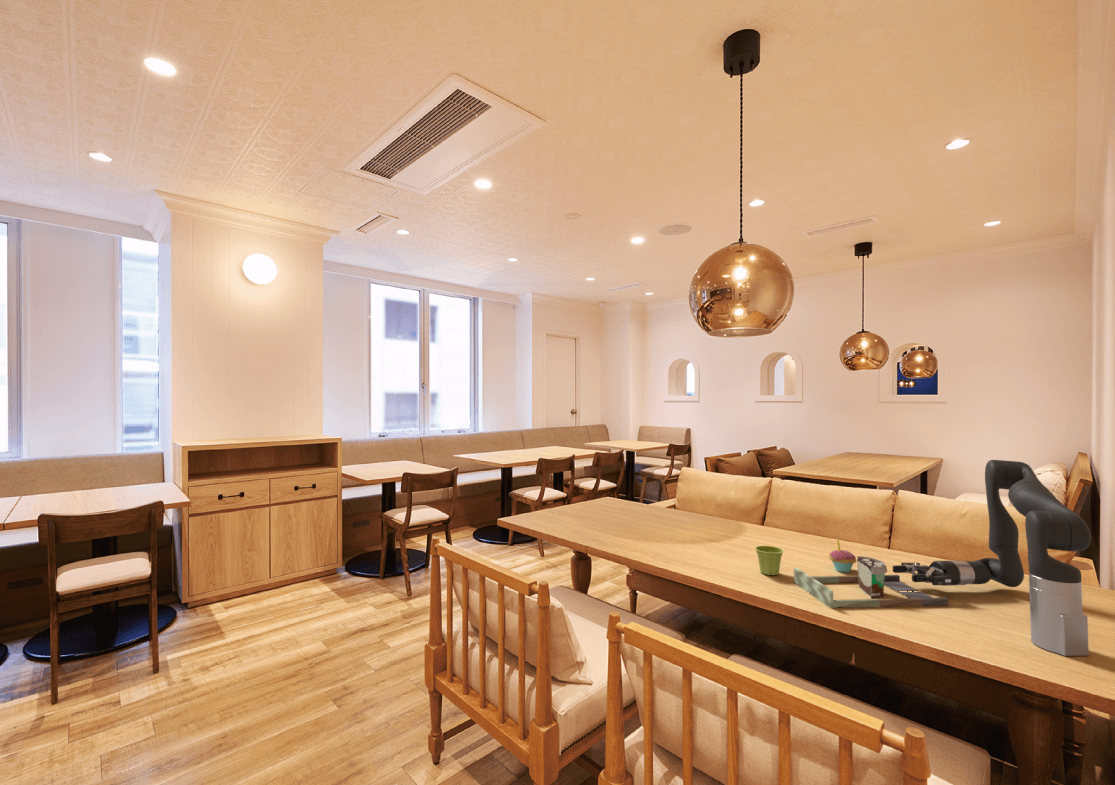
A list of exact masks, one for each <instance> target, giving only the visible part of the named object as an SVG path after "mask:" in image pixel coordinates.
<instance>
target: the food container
mask: <svg viewBox="0 0 1115 785" xmlns="http://www.w3.org/2000/svg"><path fill="white" fill-rule="evenodd" d="M856 563H857V576H858V578H859V583H858V588H859V589H860V588H861V589H862V592H864V594H866V595H867V594H868V595H869V596H870V597H871V598H870V597H869V596H868V595H867V596H868V597H869V598H870V599H881V598H883V597H884V595H885V593H884V590H885V585H884V577H885V575H886V573H888V569H887V568H888V567H887V565H886V564H885V562H883V560H879V559H877V558H874V557H868V556H861V555H860V556H859V555H857V557H856ZM861 589H860V590H861ZM882 596H883V597H882ZM880 597H881V598H880Z"/></svg>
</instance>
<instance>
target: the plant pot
mask: <svg viewBox="0 0 1115 785" xmlns="http://www.w3.org/2000/svg"><path fill="white" fill-rule="evenodd" d="M754 549H755V552H756V554H757V559H758V567H759V571H760V574H763V575H764V574H767V575H766V576H769V575H773V576H776V575H777V576H779V575H778V574H780V567H781V560H782V556H783V553H784V551H785V550H784V549H782V548H780V547H778V546H773V545H757V546H755V547H754Z"/></svg>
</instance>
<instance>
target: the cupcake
mask: <svg viewBox="0 0 1115 785" xmlns="http://www.w3.org/2000/svg"><path fill="white" fill-rule="evenodd" d="M836 543H837V549H836V550H833V551H831V552H830V553H829V554H828V556H829V561H831V562H832V564H833V566H834V568H835V570H836V571H838V572H841V573H850V572H851V571H852V568H853V565H854V564H855V563H857V557H856V556H855V555H854V554H853V553H852V552H850V551H849V550H844V549H841V545H840V544H841V543H840V539H839V538H838V537H836Z"/></svg>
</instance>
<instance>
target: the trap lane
mask: <svg viewBox="0 0 1115 785" xmlns="http://www.w3.org/2000/svg"><path fill="white" fill-rule="evenodd" d="M794 582H795V583H796V584H795V583H794ZM854 582H859V578H858V575H827V576H826V575H824V576H823V575H817V576H815V575H812V576H811V575H809V574H807V573H806V572H804V571H803V570H801V569H799V568H798V567H793V583H794V584H795V585H797V584H798V585H799V586H798V585H797V586H798V587H800V588H801V587H802V588H803V590H804V591H805V590H806V591H805V592H807V593H808V592H809V593H808V594H809V595H811V594H812V595H813V596H812V595H811V596H812V597H814V598H815V597H816V598H815V599H817V600H818V601H819V602H821V603H822V602H823V604H824V605H825V604H826V605H825V606H827V607H828V608H829V609H839V608H838V607H857V608H882V607H881V606H908V607H946V606H945V605H948V606H949V598H947V597H933V596H930V595H928V594H926V593H925V592H923V591H919V590H918V589H916V588H914V587H912V586H910V585H908V584H906V583H904V582H902V581H901V580H900V575H899V574H885V577H884V586H885V585H886V586H888V587H890V588H892V589H893V590H892V589H891V590H892V591H894V590H895V592H896V591H898V592H897V593H899V594H900V593H901V594H900V595H902V594H903V595H902V596H904V595H905V596H906V597H905V596H904V597H905V598H903V597H902V598H860V599H859V598H858V599H854V598H853V599H850V598H849V599H834V590H832V589H831V588H830V587H828V586H826V585H825V584H845V583H846V584H852V583H854ZM886 586H885V587H886ZM888 587H887V588H888ZM890 588H889V589H890ZM899 591H907V592H899ZM908 591H912V592H908ZM914 591H919V592H914ZM907 597H908V598H907ZM876 606H877V607H876ZM878 606H880V607H878Z"/></svg>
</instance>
